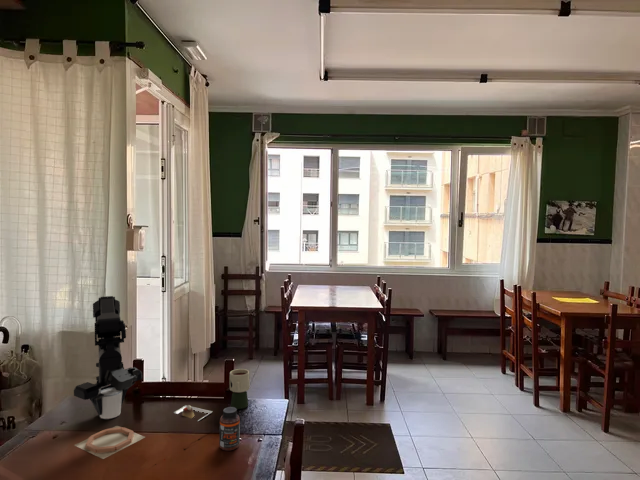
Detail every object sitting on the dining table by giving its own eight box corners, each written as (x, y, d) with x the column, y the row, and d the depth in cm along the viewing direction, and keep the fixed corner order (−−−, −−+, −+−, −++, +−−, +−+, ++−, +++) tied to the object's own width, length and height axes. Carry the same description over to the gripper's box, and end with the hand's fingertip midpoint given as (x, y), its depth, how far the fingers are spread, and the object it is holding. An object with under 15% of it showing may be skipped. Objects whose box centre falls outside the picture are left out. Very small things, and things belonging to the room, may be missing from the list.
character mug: (231, 401, 161) (231, 366, 161) (250, 400, 162) (250, 366, 161) (227, 414, 150) (227, 377, 150) (247, 413, 151) (247, 377, 150)
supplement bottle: (222, 453, 125) (222, 415, 125) (217, 443, 131) (217, 407, 130) (242, 448, 128) (242, 411, 128) (236, 439, 134) (236, 403, 133)
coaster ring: (78, 444, 127) (78, 441, 127) (116, 427, 138) (116, 424, 138) (103, 456, 121) (103, 453, 121) (141, 437, 132) (141, 434, 132)
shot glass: (112, 420, 125) (112, 397, 125) (92, 418, 126) (91, 395, 126) (127, 410, 132) (127, 388, 131) (108, 408, 133) (107, 386, 133)
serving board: (74, 449, 127) (73, 445, 127) (117, 429, 139) (117, 425, 139) (103, 463, 120) (103, 459, 120) (145, 440, 132) (145, 437, 132)
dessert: (161, 422, 145) (161, 408, 145) (185, 408, 156) (185, 395, 156) (190, 429, 140) (190, 415, 140) (212, 414, 151) (212, 401, 151)
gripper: (96, 374, 116) (96, 430, 117) (153, 355, 132) (154, 405, 133) (72, 366, 122) (73, 420, 122) (130, 349, 138) (130, 396, 139)
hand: (110, 410), depth 129 cm, fingers closed on shot glass, 6 cm apart
